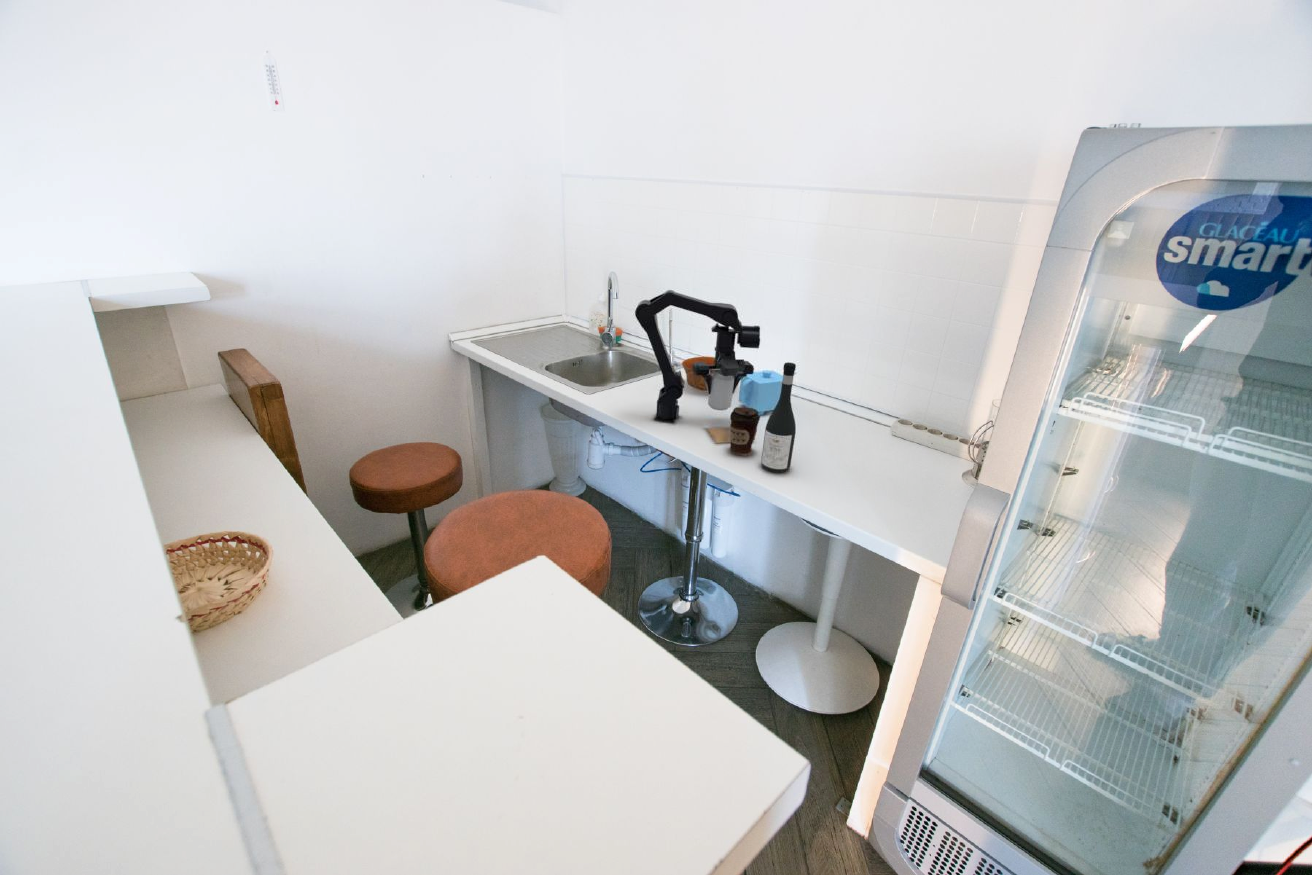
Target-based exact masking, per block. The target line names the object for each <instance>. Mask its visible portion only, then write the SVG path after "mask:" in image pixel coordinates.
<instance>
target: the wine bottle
mask: <svg viewBox="0 0 1312 875" xmlns="http://www.w3.org/2000/svg"><path fill="white" fill-rule="evenodd" d="M782 368H783V372H782V375H783V380H782V387H781V394H780V398H779V401H778V403H777V405H776V407H775V408H774V410H773V412H772V411H771V413H770V415H769V417H768V419H767V422H766V425H765V429H764V436H763V444H762V452H761V461H760V463H761V466H762V468H763V469H765V470H766V471H769V472H771V473H785V472H787V471H788V470H790V468H791V464H792V459H793V451H794V445H795V438H796V432H797V431H796V430H797V426H796V418H795V415H794V412H793V408H792V400H791V397H792V389H793V382H794V377H795V375H794V372H796V368H797V364H796V363H795V362H789V361H788V362H784V363H783V367H782Z"/></svg>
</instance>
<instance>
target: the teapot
mask: <svg viewBox="0 0 1312 875" xmlns="http://www.w3.org/2000/svg"><path fill="white" fill-rule="evenodd" d="M796 374H797V372H796V371H795V372H794V376H795V375H796ZM782 380H783V374H781V373H779V372H776V371H775V370H768V369H766V370H762V371H754V373H753V374H747V376H746V377H743V378H742V379H741V380H740V382H739V392H738V400H737V401H738V402H739V403H740V404H742V405H743V406H744V407H747V408H753V409H756V410H757V411H758V412H759V413H758V415H759V416H764V414H765V412H768V411H771V413H772V412H773V410H774V408H775V407H776V405H777V403H778V401H779V398H780V394H781V387H782Z"/></svg>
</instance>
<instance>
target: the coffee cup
mask: <svg viewBox="0 0 1312 875" xmlns="http://www.w3.org/2000/svg"><path fill="white" fill-rule="evenodd" d="M758 413H759V412H758V411H757V410H756V409H753V408H747V407H745V406H744V407H743V406H742V407H741V406H738V407H734V408H733V409H732V411H731V413H730V417H729V418H730V426H729V428H730V441H731V443H730V447H729V451H730V452H731V453H732V454H734V455H737V456H750V455H752V453H753V450H752V446H753V443H754V441H755V440H756V435H757V432H758V426H759V422H760V420H761V415H758Z"/></svg>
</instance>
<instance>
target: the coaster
mask: <svg viewBox="0 0 1312 875" xmlns="http://www.w3.org/2000/svg"><path fill="white" fill-rule="evenodd" d="M706 431H707V433H708V434H709V435H710V436H711V438H712V439H713V440H714V443H715V444H731V441H730V427H711V428H710V427H709V428H707V427H706Z"/></svg>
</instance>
